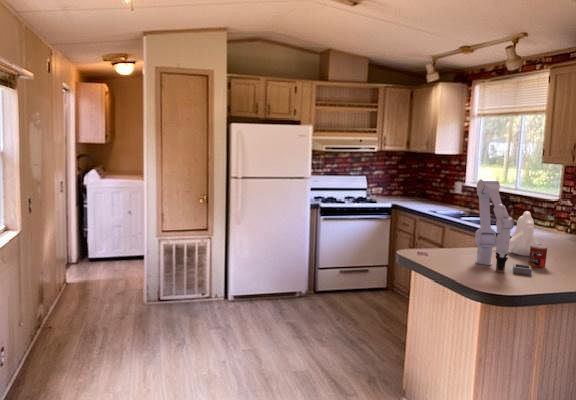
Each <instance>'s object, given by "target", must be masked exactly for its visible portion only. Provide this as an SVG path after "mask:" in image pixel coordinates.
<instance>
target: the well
mask: <svg viewBox="0 0 576 400" xmlns="http://www.w3.org/2000/svg"><path fill="white" fill-rule="evenodd" d="M532 271H533V270H532V267H531V266H529V264H521V263H520V264H519V263H512V274H514V275H524V276H529V277H531V276H532Z"/></svg>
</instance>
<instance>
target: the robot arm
mask: <svg viewBox="0 0 576 400" xmlns="http://www.w3.org/2000/svg"><path fill="white" fill-rule="evenodd" d="M500 188H501V184H500V182H499V180H498V179H482V178H480V179H479V180H478V181H477V183H476V195H477V196H478V202H479V203H478V205H479V222H480V223H479V225H480V226H479V228H478V229H477V230H476V231H475V235H474V243H475V245H476V246H477V251H476V258H475V262H474V263H475V264H480V265H487V266H492V265H493V263H492V254H493V252H495V259H496V262H497V264H498V270H500V271H503V268H504V265H505V266H506V262H507V261H508V259H509V257H507V256H508V254H509V252H510V250H509V240H510V239H511V230H513V228H514V226H515V224H514V218H512V217H511V216H510V215H509V213H508V211H507V208H506V206H505V205H504V204H503V203H502V200H501V196H500V192H499V191H500V190H501V189H500ZM490 199H491V202H492V204H493V205H494V207H493V212H494V215H495V218H496V222H495V226H496V231H495V230H494V229H493V228H492V225H491V221H492V220H491V210H490V209H491V206H490V205H491V204H490V203H491V202H490ZM496 232H497V235H496ZM494 247H495V248H494Z"/></svg>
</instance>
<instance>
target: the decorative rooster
mask: <svg viewBox="0 0 576 400" xmlns="http://www.w3.org/2000/svg"><path fill="white" fill-rule="evenodd" d="M534 221H535V220H534V219H533V218H532V214H531V212H530V211H528V210H526V211H524V212H523V214H522V215H521V216H519V217H518V219H517V222H516V227H515V230H514V232H513V233H512V237H510V240H509V250H508V251H511V253H513V254H515V255H518V256H521V257H522V256H523V257H524V256H527V257H528V256H529V255H530V246H531V245H534V244H535V245H539V243H538V241H537V239H536V238H535V237H534V231H535V230H534V229H535V222H534Z"/></svg>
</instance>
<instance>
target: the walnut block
mask: <svg viewBox="0 0 576 400" xmlns="http://www.w3.org/2000/svg"><path fill="white" fill-rule="evenodd" d="M505 269H506V264H505V265H504V268H503V271H500V270H498V264H497V261H496V264H495V273H504V274H505V271H506V270H505Z"/></svg>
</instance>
